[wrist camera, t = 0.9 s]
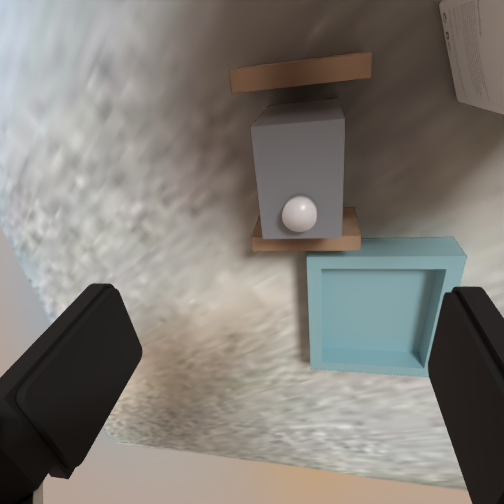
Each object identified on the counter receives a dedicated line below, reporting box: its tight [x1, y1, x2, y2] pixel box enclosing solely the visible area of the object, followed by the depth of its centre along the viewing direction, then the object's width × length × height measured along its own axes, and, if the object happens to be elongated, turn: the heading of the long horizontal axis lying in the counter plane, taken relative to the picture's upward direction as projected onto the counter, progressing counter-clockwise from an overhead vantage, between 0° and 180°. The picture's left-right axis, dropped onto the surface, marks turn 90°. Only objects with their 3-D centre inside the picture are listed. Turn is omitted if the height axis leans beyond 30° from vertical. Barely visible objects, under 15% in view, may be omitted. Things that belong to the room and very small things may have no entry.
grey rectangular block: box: [250, 98, 345, 239], centre depth 22 cm, size 5×7×9 cm
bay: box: [229, 52, 372, 251], centre depth 24 cm, size 8×12×5 cm, turn 7°
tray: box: [307, 237, 467, 377], centre depth 31 cm, size 12×14×3 cm
